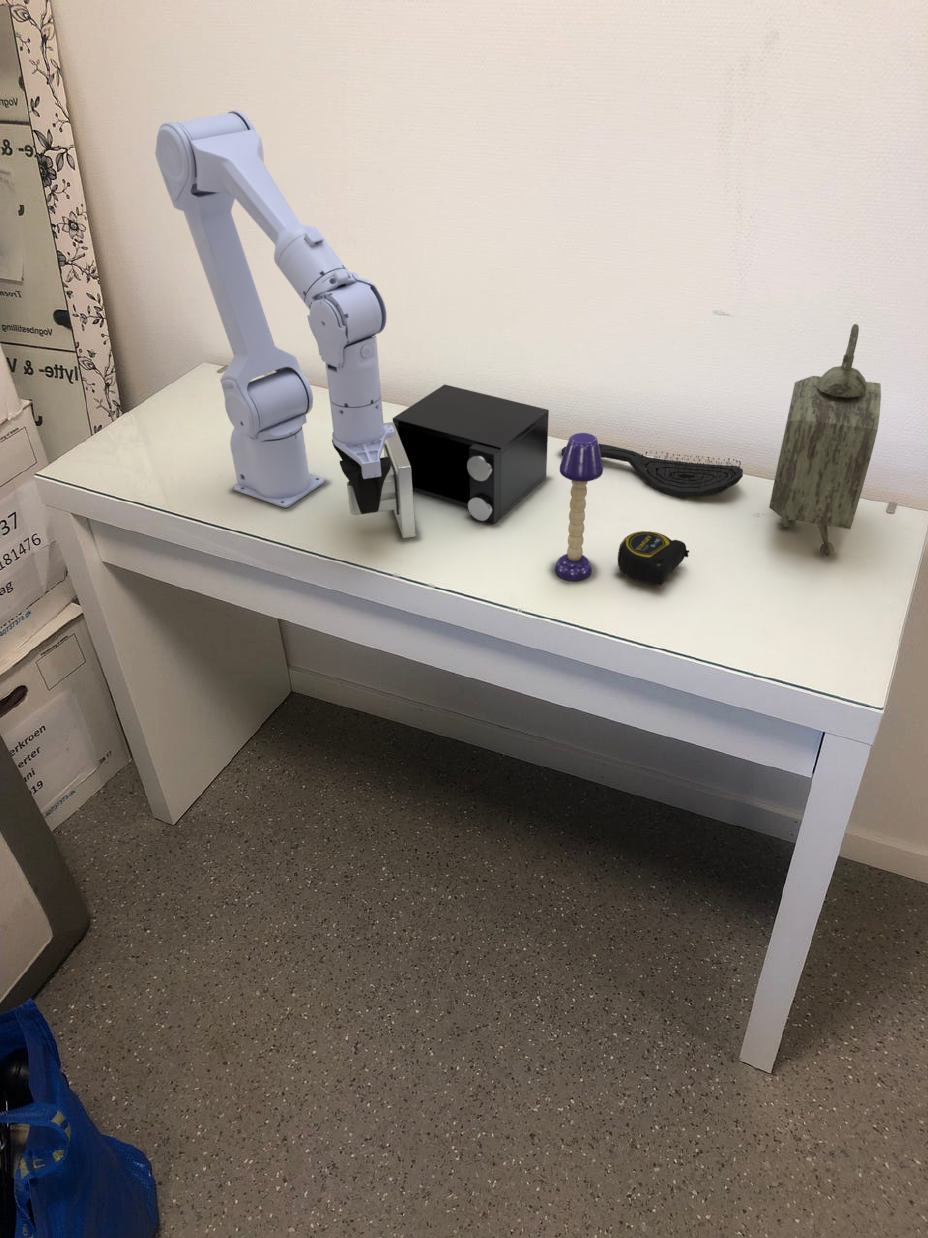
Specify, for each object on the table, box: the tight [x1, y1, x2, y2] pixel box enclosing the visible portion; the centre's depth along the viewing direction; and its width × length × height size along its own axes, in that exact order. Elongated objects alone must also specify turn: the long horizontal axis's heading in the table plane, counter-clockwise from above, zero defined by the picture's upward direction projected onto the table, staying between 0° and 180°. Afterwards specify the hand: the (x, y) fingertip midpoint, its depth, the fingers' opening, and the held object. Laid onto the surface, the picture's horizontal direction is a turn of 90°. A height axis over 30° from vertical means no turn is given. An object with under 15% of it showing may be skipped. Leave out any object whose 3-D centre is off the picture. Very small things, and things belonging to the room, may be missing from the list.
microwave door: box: [346, 421, 416, 539], centre depth 113 cm, size 7×12×10 cm, turn 13°
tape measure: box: [617, 530, 690, 586], centre depth 105 cm, size 7×7×4 cm
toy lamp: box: [554, 432, 604, 581], centre depth 101 cm, size 5×5×17 cm
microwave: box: [392, 383, 550, 525], centre depth 119 cm, size 14×16×10 cm
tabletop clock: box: [768, 323, 882, 557], centre depth 104 cm, size 14×9×25 cm, turn 160°
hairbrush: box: [561, 442, 744, 498], centre depth 123 cm, size 8×4×25 cm
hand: (366, 502), depth 110 cm, fingers open, 4 cm apart
